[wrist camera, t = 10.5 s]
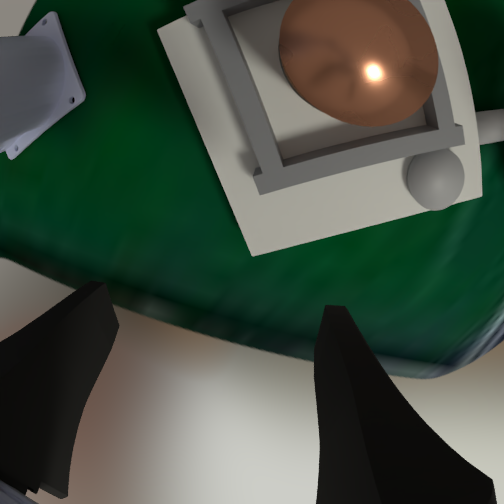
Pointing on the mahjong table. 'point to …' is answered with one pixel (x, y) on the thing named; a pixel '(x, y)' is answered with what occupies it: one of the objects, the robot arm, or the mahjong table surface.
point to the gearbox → (320, 131)
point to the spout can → (359, 58)
